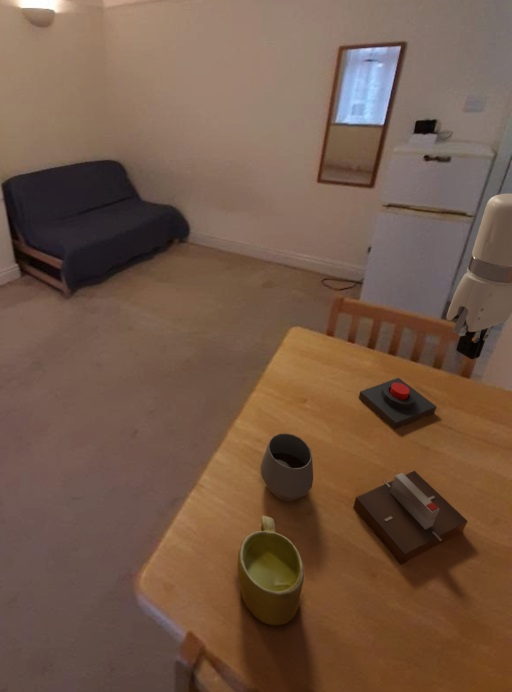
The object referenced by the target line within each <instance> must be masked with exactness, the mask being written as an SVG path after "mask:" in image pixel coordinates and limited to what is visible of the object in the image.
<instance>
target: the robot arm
mask: <svg viewBox="0 0 512 692" xmlns="http://www.w3.org/2000/svg"><path fill="white" fill-rule="evenodd" d="M472 248H473V249H472V251H471V255H470V258H469V261H468V264H467V268H466V273H464V275H463V276H462V278H461V280H460V281H459V283H458V285H457V288H456V289H455V292H454V294H453V297H452V299H451V302H450V305H449V307H448V311H447V313H446V320H447V321H448V322H453V321H456V322H455V324H454V326H453V328H452V331H451V333H452V334H454V335H456V336H458V337H459V340H458V342H457V345H456V348H455V349H456V351H457V352H458V353H460V354H461V355H463V356H465V357H467V358H468V359H469V360H475V359H478V358H481V357H480V356H481V354H482V351H483V348H484V345H485V342H486V340H487V339H488V338H489V336H490V334H491V332H492V329H493V328H494V327H495V326H498V325H500V324H503V323H505V322H506V321H508V320H509V318H510V317H511V315H512V193H499V194H496V195H494V196H491V198H489V199H488V201H487V204H486V206H485V209H484V212H483V215H482V219H481V222H480V224H479V229H478V231H477V234H476V239H475V242H474V245H473V247H472Z"/></svg>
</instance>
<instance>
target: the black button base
mask: <svg viewBox="0 0 512 692" xmlns="http://www.w3.org/2000/svg"><path fill="white" fill-rule="evenodd" d="M393 383H401V384H404V385H405V386H407V387H408V388H409V390H410V392H409V395H408V398H407V399H405V400H400V399H398V398H395V397H393V396H392V395H391V393H390V389H391V386H392V384H393ZM358 399H359V400H360V401H361V402H362V403H363V404H365V405H366V406H367V407H368V408H369V409H370V410H371V411H372V412H374V413H375V414H376V415H377V416H378V417H379V418H380V419H381V420H382V421H383V422H385V423H386V424H387V426H390V428H391V429H392V430H394V431H395V430H397V429H399V428H402V427H404V426H406V425H409V424H412V423H414V422H417V421H419V420H422V419H424V418H426V417H429V416H432V415H434V414H435V413H436V410H437V405H436V404H434V403H432V401H430V400H428V398H427V397H425V396H424V395H422V394H421V393H419V392H418V391H417V390H416V389H415V388H413V387H411V386H410V385H409V384H408V383H406V381H404V380H403V379H401V378H400V377H397V378H394V379H391V380H388V381H385V382H382V383H380V384H377V385H374V386H372V387H371V386H370V387H368V388H365V389H363V390H360V391H359V394H358Z"/></svg>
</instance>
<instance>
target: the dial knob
mask: <svg viewBox="0 0 512 692" xmlns="http://www.w3.org/2000/svg"><path fill="white" fill-rule="evenodd" d="M405 475H406V474H404V473H403V472H399V473H398V474H396V475H395V476H394V478H393V480H394V481H393V480H392V481H393V484H392V487H391V490H390V493H391V494H392V495H393V496H394V497H395V498H396V499H397V500H398V501H399V502H400V503H401V504H402V505H403V506H404V508H405V509H406V510H407V511H408V512H409V513H410V514H411V515H412V516H413V517H414V518H415V519H416V520H417V521H418V522H419V523H420V525H421V526H422V527H423V528H424V529H425V530H426V529H428V528H430V527H432V526H433V524H434V521H435V519H436V517H437V514H438V512H439V508H438V507H437V506H436V505H435V504H434V503H433V502H432V501H431V500H430V499H428V498H427V497H426V496H425V495H424V494H423V493H422V492H421V491H420V490H419V489H418V488H417V487H416V486H415V485H414V484H413V483H412V482H411V481H410V480H409V479H408V478H407V477H406V476H405Z"/></svg>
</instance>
